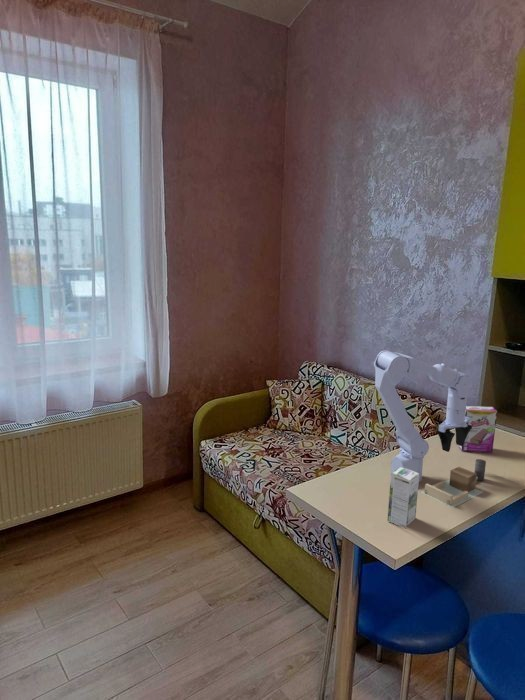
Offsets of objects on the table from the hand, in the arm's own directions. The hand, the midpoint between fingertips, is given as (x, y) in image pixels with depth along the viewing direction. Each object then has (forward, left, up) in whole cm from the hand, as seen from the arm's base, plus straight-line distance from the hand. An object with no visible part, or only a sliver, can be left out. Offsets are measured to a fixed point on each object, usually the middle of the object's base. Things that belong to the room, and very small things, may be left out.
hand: (452, 447), depth 160 cm
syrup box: (-33, -17, -10) cm, 38 cm away
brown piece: (0, -9, -8) cm, 12 cm away
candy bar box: (+23, +12, -10) cm, 28 cm away
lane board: (-9, -11, -9) cm, 17 cm away
